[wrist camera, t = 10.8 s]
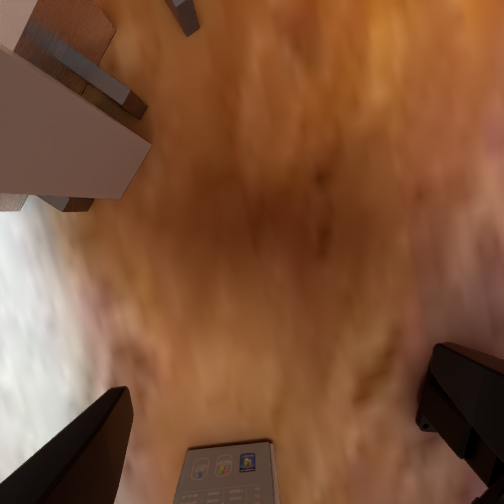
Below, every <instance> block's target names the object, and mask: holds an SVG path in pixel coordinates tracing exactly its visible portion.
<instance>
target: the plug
mask: <svg viewBox="0 0 504 504" xmlns="http://www.w3.org/2000/svg"><path fill="white" fill-rule="evenodd" d="M151 146H152V145H151V144H150V143H148V142H147V141H145V140H144V139H143V138H141V137H140V136H138V135H137V134H135V133H134V132H133V131H131V130H130V129H128V128H127V127H125V126H124V125H122V124H121V123H120V122H118V121H117V120H115V119H114V118H112V117H111V116H110V115H108V114H107V113H105V112H104V111H102V110H101V109H99V108H98V107H97V106H95V105H94V104H92V103H91V102H89V101H88V100H86V99H85V98H83V97H81V96H80V95H78V94H77V93H75V92H74V91H72V90H71V89H69V88H68V87H66V86H65V85H63V84H62V83H60V82H59V81H57V80H56V79H54V78H52V77H51V76H49V75H48V74H46V73H45V72H43V71H42V70H40V69H39V68H37V67H36V66H34V65H33V64H31V63H30V62H28V61H27V60H25V59H23V58H22V57H20V56H19V55H17V54H16V53H14V52H13V51H11V50H10V49H8V48H7V47H5V46H4V45H2V44H1V43H0V193H9V194H27V195H44V196H62V197H80V198H97V199H115V200H120V199H121V197H122V195H123V194H124V192H125V190H126V189H127V187H128V185H129V183H130V182H131V180H132V178H133V177H134V175H135V173H136V172H137V170H138V168H139V167H140V165H141V163H142V161H143V160H144V158H145V156H146V155H147V153H148V151H149V150H150V148H151Z"/></svg>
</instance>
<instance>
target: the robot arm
mask: <svg viewBox="0 0 504 504" xmlns="http://www.w3.org/2000/svg"><path fill="white" fill-rule="evenodd" d="M133 415H134V413H133V406H132V401H131V397H130V392H129V389H128V387H126V386H120V387H113V388H110V389H109V390H108V391H106V392H105V393H104V394H103V395H102V396H101V397H99V398H98V399H97V400H96V401H95V402H94V403H93V404H91V405H90V406H89V407H88V408H87V409H86V410H85V411H83V412H82V413H81V414H80V415H79V416H78V417H76V418H75V419H74V420H73V421H72V422H71V423H70V424H68V425H67V426H66V427H65V428H64V429H63V430H61V431H60V432H59V433H58V434H57V435H56V436H55V437H53V438H52V439H51V440H50V441H49V442H48V443H46V444H45V445H44V446H43V447H42V448H41V449H40V450H38V451H37V452H36V453H35V454H34V455H33V456H32V457H30V458H29V459H28V460H27V461H26V462H25V463H23V464H22V465H21V466H20V467H19V468H18V469H17V470H15V471H14V472H13V473H12V474H11V475H10V476H8V477H7V478H6V479H5V480H4V481H3V482H2V483H0V504H114V501H115V497H116V494H117V490H118V487H119V482H120V478H121V474H122V469H123V464H124V460H125V455H126V450H127V446H128V441H129V437H130V432H131V427H132V423H133ZM423 424H424V425H423ZM417 426H418V427H419V428H420V430H422V431H425V432H438V433H439V435H440V436H441V437H442V438H443V439H444V441H445V442H446V443H447V444H448V445H449V447H450V448H451V449H452V450H453V451H454V453H455V454H456V455H457V456H458V457H459V458H460V459H464V460H465V461H466V462H467V463H468V465H469V466H470V467H471V468H472V469H473V471H474V472H475V473H476V474H477V475H478V476H479V478H480V479H481V480H482V481H483V482H484V484H485V485H486V486H487V487H488V489H487V490H486V491H485V492H484V493H483V494H482V495H481V496H480V497H476V498H475V499H474V500H473V501H472V502H471V504H504V360H502V359H499V358H496V357H493V356H490V355H487V354H484V353H481V352H478V351H475V350H472V349H469V348H466V347H463V346H460V345H457V344H454V343H451V342H444V343H437V344H435V346H434V347H433V353H432V360H431V363H430V367H429V372H428V376H427V380H426V384H425V388H424V392H423V397H422V401H421V405H420V409H419V413H418V418H417Z"/></svg>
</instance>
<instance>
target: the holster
mask: <svg viewBox="0 0 504 504" xmlns="http://www.w3.org/2000/svg"><path fill="white" fill-rule="evenodd" d="M165 1H166V2H167V4H168V6H169V8H170V9H171V11H172V13H173V14H174V16H175V18H176V19H177V21H178V23H179V24H180V26H181V28H182V29H183V31H184V33H185V34H186V36H189V35H190V34H192V33H193V32H194V31H196V30H197V29H198V28H200V26H199V23H198V19H197V16H196V12H195V9H194V5H193V2H192V0H165Z"/></svg>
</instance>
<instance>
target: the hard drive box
mask: <svg viewBox="0 0 504 504" xmlns="http://www.w3.org/2000/svg"><path fill="white" fill-rule="evenodd" d="M173 504H280V499H279V490H278V480H277V470H276V461H275V453H274V446H273V444H269V442H263V443H253V444H244V445H234V446H225V447H215V448H205V449H196V450H189V451H187V452H186V456H185V460H184V463H183V467H182V470H181V474H180V478H179V481H178V485H177V489H176V493H175V496H174V500H173Z"/></svg>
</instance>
